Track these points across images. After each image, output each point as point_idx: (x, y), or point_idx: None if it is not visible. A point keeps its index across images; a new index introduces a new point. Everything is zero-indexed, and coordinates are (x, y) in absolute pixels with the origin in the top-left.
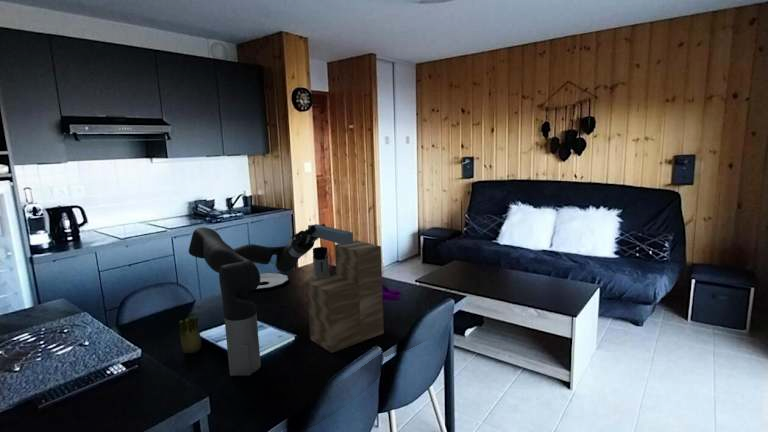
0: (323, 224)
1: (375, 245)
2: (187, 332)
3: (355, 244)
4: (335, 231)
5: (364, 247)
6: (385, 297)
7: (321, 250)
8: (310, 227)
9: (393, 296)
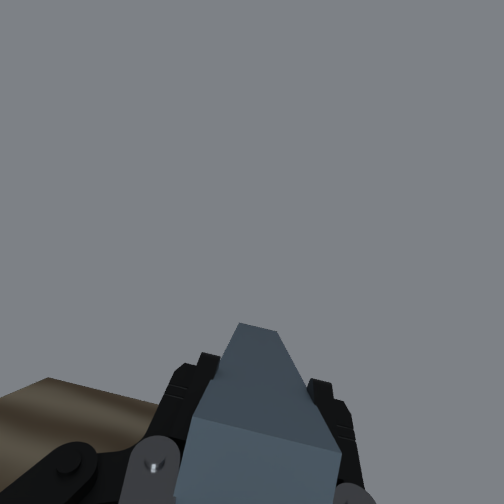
0: (214, 357)
1: (36, 387)
2: None
3: (25, 441)
4: (273, 338)
5: (92, 404)
6: None
7: None
8: (346, 408)
9: None
